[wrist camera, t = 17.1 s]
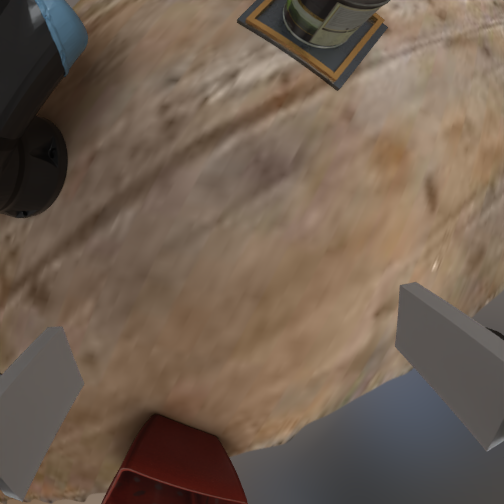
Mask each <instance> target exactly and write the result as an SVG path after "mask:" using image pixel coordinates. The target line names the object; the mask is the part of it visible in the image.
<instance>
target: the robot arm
mask: <svg viewBox="0 0 504 504" xmlns="http://www.w3.org/2000/svg"><path fill="white" fill-rule="evenodd" d="M87 42H88V35H87V31H86V29H85V27H84V25H83V23H82V22H81V20H80V19H79V17H78V16H77V14H76V13H75V12H74V11H73V9H72V8H71V7H70V6H69V5H68V3H67V2H66V1H65V0H0V213H1V214H5V215H8V216H11V217H15V218H27V217H31V216H34V215H37V214H40V213H42V212H43V211H45V210H46V209H47V208H48V207H50V206H51V204H52V203H53V202H54V201H55V199H56V198H57V196H58V195H59V193H60V191H61V189H62V186H63V184H64V180H65V177H66V171H67V150H66V145H65V141H64V139H63V136H62V134H61V132H60V131H59V129H58V128H57V127H56V126H55V125H54V124H53V123H52V122H51V121H49V120H47V119H45V118H42V117H38V116H35V115H36V114H37V112H38V111H39V109H40V108H41V106H42V105H43V104H44V102H45V101H46V99H47V98H48V97H49V95H50V94H51V93H52V91H53V90H54V89H55V87H56V86H57V85H58V83H59V82H60V81H61V80H62V78H63V77H66V75H67V74H68V72H69V69H70V67H71V66H72V65H73V63H74V62H75V61H76V60H77V58H78V57H79V56H80V55H81V53H82V52H83V51H84V49H85V48H86V45H87ZM395 347H396V348H397V349H398V350H399V351H400V353H401V354H402V355H403V356H404V357H405V358H406V359H407V360H408V361H409V362H410V364H411V365H412V366H413V367H414V368H415V369H416V370H417V371H418V372H419V374H420V375H421V376H422V377H423V378H424V379H425V380H426V381H427V382H428V384H429V385H430V386H431V387H432V388H433V389H434V390H435V392H436V393H437V394H438V395H439V396H440V397H441V398H442V400H443V401H444V402H445V403H446V404H447V405H448V406H449V407H450V409H451V410H452V411H453V412H454V413H455V414H456V416H457V417H458V418H459V419H460V420H461V422H462V423H463V424H464V425H465V426H466V427H467V428H468V430H469V431H470V432H471V433H472V434H473V436H474V437H475V438H476V439H477V440H478V442H479V443H480V444H481V445H482V446H483V448H484V449H485V450H486V451H488V450H490V449H491V448H493V447H495V446H496V445H498V444H500V443H501V442H503V441H504V336H503V335H502V334H501V333H499V332H497V331H494V330H492V329H489V328H486V327H484V326H482V325H481V324H479V323H478V322H476V321H475V320H473V319H472V318H471V317H469V316H468V315H466V314H465V313H463V312H462V311H460V310H459V309H457V308H456V307H454V306H452V305H451V304H449V303H448V302H446V301H445V300H443V299H442V298H440V297H439V296H437V295H436V294H434V293H432V292H431V291H429V290H428V289H426V288H425V287H423V286H421V285H420V284H418V283H417V282H414V283H409V284H404V285H400V292H399V308H398V321H397V332H396V341H395ZM83 385H84V381H83V379H82V377H81V374H80V372H79V369H78V367H77V364H76V362H75V359H74V357H73V354H72V351H71V349H70V346H69V343H68V340H67V338H66V335H65V332H64V329H63V327H48V328H47V329H46V330H45V331H44V332H43V333H42V334H41V335H40V336H39V337H38V338H37V339H36V340H35V341H34V342H33V343H32V344H31V345H30V346H29V347H28V348H27V349H26V350H25V351H24V352H23V353H22V354H21V355H20V356H19V357H18V358H17V359H16V360H15V361H14V362H13V364H12V365H11V366H10V367H9V368H8V369H7V370H6V371H5V372H4V373H3V374H2V375H1V377H0V490H1V491H2V492H3V493H4V494H5V495H6V496H9V497H11V498H14V499H17V500H19V501H22V502H23V500H24V497H25V495H26V493H27V491H28V489H29V487H30V485H31V483H32V480H33V478H34V476H35V474H36V472H37V470H38V468H39V466H40V464H41V462H42V460H43V458H44V456H45V454H46V452H47V450H48V449H49V447H50V445H51V443H52V441H53V439H54V437H55V435H56V433H57V432H58V430H59V428H60V426H61V424H62V422H63V421H64V419H65V417H66V415H67V413H68V412H69V410H70V408H71V406H72V404H73V403H74V401H75V399H76V397H77V396H78V394H79V392H80V390H81V389H82V387H83Z"/></svg>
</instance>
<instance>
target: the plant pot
mask: <svg viewBox="0 0 504 504" xmlns="http://www.w3.org/2000/svg"><path fill="white" fill-rule="evenodd" d="M101 504H248V503H247V499H246V496H245V493H244V490H243V488H242V485H241V483H240V480H239V478H238V475H237V473H236V471H235V468H234V466H233V465H232V462H231V460H230V458H229V457H228V455H227V453H226V451H225V449H224V448H223V446H222V444H221V443H220V441H219V440H218V438H217V437H216V436H214V435H211V434H208V433H205V432H202V431H199V430H197V429H194V428H191V427H188V426H186V425H183V424H181V423H178V422H175V421H173V420H170V419H168V418H165V417H163V416H161V415H156V414H155V415H153V416H152V417H151V418H150V419H149V420H148V421H147V422H146V424H145V425H144V426H143V427H142V429H141V430H140V432H139V433H138V435H137V437H136V438H135V440H134V442H133V443H132V445H131V447H130V449H129V451H128V453H127V455H126V457H125V459H124V461H123V463H122V465H121V467H120V469H119V470H118V472H117V474H116V476H115V477H114V479H113V481H112V483H111V485H110V487H109V489H108V491H107V493H106V495H105V497H104V499H103V501H102V503H101Z"/></svg>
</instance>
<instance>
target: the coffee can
mask: <svg viewBox="0 0 504 504" xmlns="http://www.w3.org/2000/svg"><path fill="white" fill-rule="evenodd" d="M389 1H390V0H287V2H286V4H285V5H284V8H283V19H284V23H285V25H286V27H287V29H288V30H289V31H290V33H291V34H292V35H293V36H294V37H296V38H297V39H298V40H300V41H301V42H303V43H305V44H307V45H309V46H312V47H316V48H325V49H327V48H335V47H338V46H340V45H342V44H343V43H345V42H346V41H347V40H348V38H349V37H350V36H351V35H352V34H353V33H354V32H355V31H356V30H357V29H358V28H359V27H360V26H361V25H362V24H363V23H364V22H365V21H367V20H368V19H369V18H370V17H371V16H372V15H373V14H374V13H375V12H376V11H377V10H378V9H379V8H380V7H382V6H383V5H385V4H386V3H388V2H389Z"/></svg>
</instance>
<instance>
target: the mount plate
mask: <svg viewBox="0 0 504 504" xmlns="http://www.w3.org/2000/svg"><path fill="white" fill-rule="evenodd" d="M286 2H287V0H256V1H255V2H254V3H253V4H252V5H251V6H250V7H249V8H248V9H247V10H246V11H245V12H244V13H243V14H242V15H241V16H240V17H239V18H238V19H237V23H239V24H240V25H242V26H244V27H246V28H247V29H249V30H251V31H252V32H254V33H256V34H257V35H259V36H260V37H262V38H264V39H265V40H267V41H268V42H270V43H272V44H273V45H275V46H276V47H278V48H279V49H281V50H282V51H284V52H285V53H287V54H288V55H290V56H291V57H293V58H294V59H295V60H297V61H298V62H300V63H301V64H302V65H304V66H305V67H307V68H308V69H309V70H311V71H312V72H313V73H315V74H316V75H318V76H319V77H320V78H321V79H323V80H324V81H325V82H327V83H328V84H329V85H331V86H332V87H333V88H334V89H336V90H337V91H338V90H339V89H340V88H341V87H342V85H343V84H344V83H345V82H346V80H347V79H348V78H349V76H350V75H351V74H352V72H353V71H354V70H355V69H356V67H357V66H358V65H359V63H360V62H361V61H362V60H363V58H364V57H365V56H366V55H367V53H368V52H369V51H370V49H371V48H372V47H373V46H374V44H375V43H376V42H377V41H378V39H379V38H380V37H381V36H382V34H383V33H384V32H385V31H386V29H387V28H388V27H387V26H386V25H384V24H383V22H384V19H383V18H381V17H380V16H379V15H378V14H376V13H374V14H373V15H372V16H371V17H370V18H369V19H368V20H367V21H365V22H364V23H363V24H362V25H361V26H360V27H359V28H358V29H357V30H356V31H355V32H354V33H353V34H352V35H351V36H350V37H349V38H348V40H347V41H346V42H345V43H343V44H342V45H340V46H338V47H335V48H327V49H325V48H316V47H312V46H309V45H307V44H305V43H303V42H301V41H300V40H298V39H297V38H296V37H294V36H293V35H292V34H291V33H290V31H289V30H288V29H287V27H286V25H285V23H284V19H283V8H284V5H285V4H286Z"/></svg>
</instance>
